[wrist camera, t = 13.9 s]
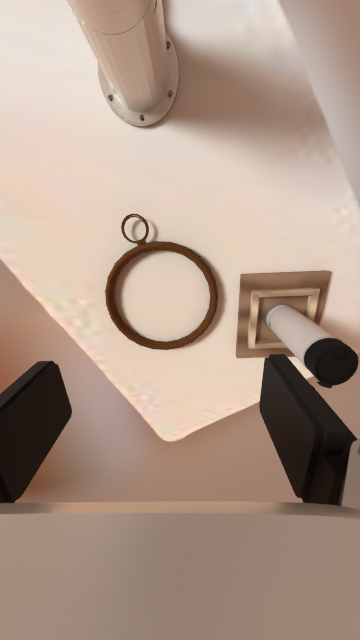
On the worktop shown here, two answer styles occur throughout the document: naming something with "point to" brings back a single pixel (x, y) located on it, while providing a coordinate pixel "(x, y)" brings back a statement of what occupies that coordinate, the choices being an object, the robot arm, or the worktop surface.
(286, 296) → the walnut coaster board
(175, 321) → the worktop surface
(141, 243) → the decorative ring
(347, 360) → the travel mug
